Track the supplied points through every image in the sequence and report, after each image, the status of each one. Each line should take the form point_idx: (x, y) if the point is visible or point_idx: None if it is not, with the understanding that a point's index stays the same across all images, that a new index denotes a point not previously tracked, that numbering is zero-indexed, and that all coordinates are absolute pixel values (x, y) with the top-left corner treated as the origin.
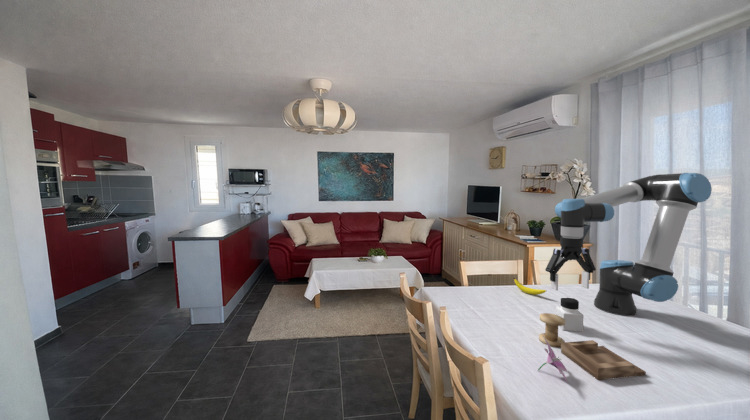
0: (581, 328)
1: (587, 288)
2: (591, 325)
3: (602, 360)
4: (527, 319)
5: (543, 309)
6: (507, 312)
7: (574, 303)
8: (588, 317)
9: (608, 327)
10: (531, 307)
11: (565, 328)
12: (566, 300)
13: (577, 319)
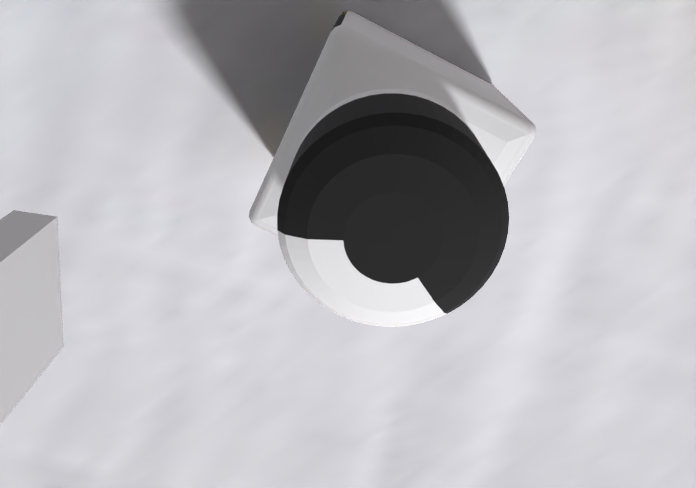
0: (359, 16)
1: (45, 215)
2: (142, 87)
3: None
4: (601, 333)
5: (298, 427)
6: (639, 464)
7: (436, 117)
8: None
9: (11, 7)
10: (364, 477)
11: (486, 83)
12: (485, 215)
13: (398, 47)
